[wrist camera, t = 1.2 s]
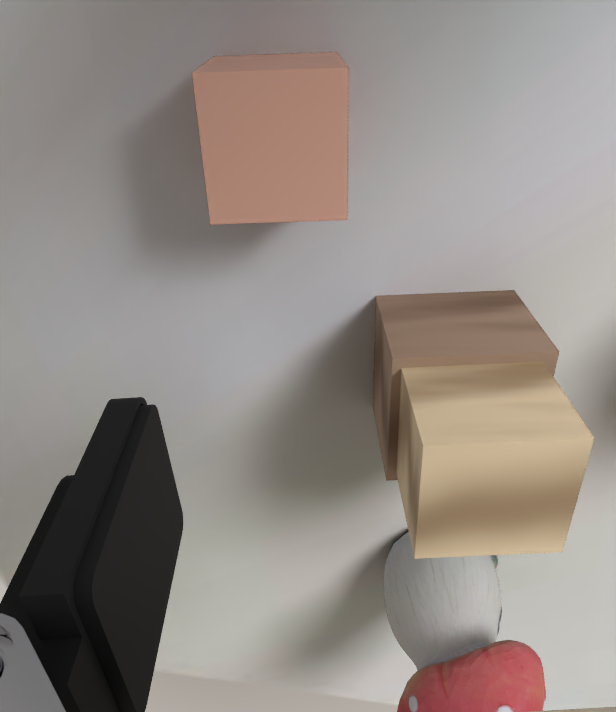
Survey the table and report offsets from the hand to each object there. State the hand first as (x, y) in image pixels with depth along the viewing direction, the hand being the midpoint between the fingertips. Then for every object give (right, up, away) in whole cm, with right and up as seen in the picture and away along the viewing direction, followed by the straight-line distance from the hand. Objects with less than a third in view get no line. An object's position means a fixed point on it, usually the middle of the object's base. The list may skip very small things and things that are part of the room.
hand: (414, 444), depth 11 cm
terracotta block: (-3, +12, +14) cm, 19 cm away
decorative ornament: (+7, -12, +29) cm, 32 cm away
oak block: (+5, -1, +16) cm, 17 cm away
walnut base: (+5, +2, +21) cm, 21 cm away
